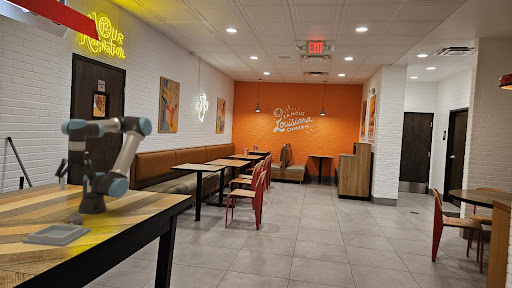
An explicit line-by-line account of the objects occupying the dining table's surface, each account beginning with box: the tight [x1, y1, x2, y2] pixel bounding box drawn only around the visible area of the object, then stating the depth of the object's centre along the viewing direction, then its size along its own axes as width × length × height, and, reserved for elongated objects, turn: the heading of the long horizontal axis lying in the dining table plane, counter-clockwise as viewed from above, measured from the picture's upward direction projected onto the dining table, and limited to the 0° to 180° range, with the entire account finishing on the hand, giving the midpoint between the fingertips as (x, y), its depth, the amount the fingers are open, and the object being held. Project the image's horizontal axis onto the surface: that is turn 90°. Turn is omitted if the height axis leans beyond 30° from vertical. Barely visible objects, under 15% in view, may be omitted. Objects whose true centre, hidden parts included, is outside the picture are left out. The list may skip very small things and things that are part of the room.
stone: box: [65, 210, 85, 225], centre depth 169 cm, size 8×10×6 cm
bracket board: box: [22, 223, 92, 248], centre depth 149 cm, size 22×18×4 cm
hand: (75, 191), depth 164 cm, fingers open, 13 cm apart
